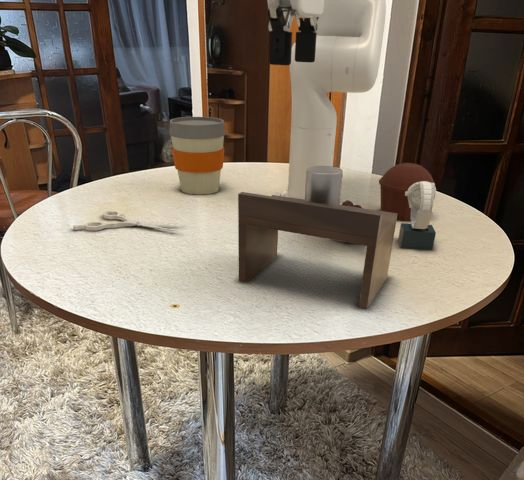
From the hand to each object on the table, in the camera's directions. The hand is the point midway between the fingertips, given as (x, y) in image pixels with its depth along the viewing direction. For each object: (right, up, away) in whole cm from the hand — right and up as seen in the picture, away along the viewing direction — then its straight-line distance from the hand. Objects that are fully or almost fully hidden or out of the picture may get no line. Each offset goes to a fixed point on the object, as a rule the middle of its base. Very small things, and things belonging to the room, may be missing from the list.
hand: (292, 63), depth 76 cm
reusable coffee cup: (-19, -5, +45) cm, 49 cm away
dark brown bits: (+11, -23, +17) cm, 31 cm away
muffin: (+25, -14, +32) cm, 43 cm away
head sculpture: (+23, -24, +16) cm, 37 cm away
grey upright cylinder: (+4, -23, -2) cm, 23 cm away
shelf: (+3, -32, +2) cm, 32 cm away
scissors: (-29, -19, +21) cm, 41 cm away
